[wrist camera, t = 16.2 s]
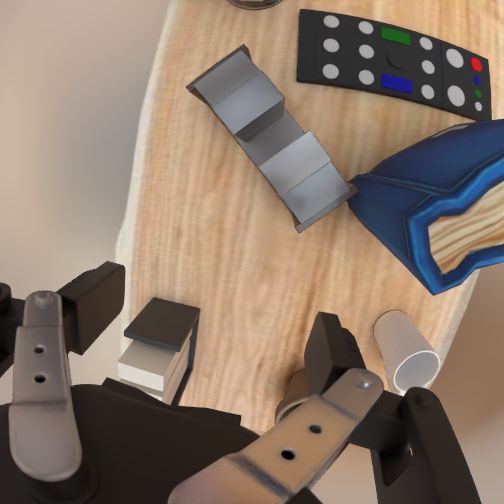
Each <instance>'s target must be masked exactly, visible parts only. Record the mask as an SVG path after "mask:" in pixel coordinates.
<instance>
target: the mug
mask: <svg viewBox="0 0 504 504" xmlns="http://www.w3.org/2000/svg"><path fill="white" fill-rule="evenodd" d="M374 337H375V339H376V342H377V344H378V347H379V349H380V351H381V354H382V356H383V358H384V361H385V363H384V368H385V373H386V378H387V382H388V385H389V388H390V390H391V392H392V393H394V394H398V395H401V396H404V395H405V392H407V390H408V389H409V388H411V387H425V386H427V385H428V384H429V383H430V382H431V381H432V380H433V379H434V378H435V376H436V375H437V373H438V371H439V368H440V358H439V356H438V355H437V354H436V352H435V351H434V349H433V348H432V346H431V345H430V344H429V343H428V341H427V340H426V339H425V337H424V336H423V335H422V333H421V332H420V331H419V330H418V328H417V327H416V326H415V324H414V323H413V322H412V321H411V319H410V318H409V317H408V316H407V315H406V314H405V313H404V312H402V311H398V310H394V311H389V312H387V313H385V314H383V315H382V316H381V317H380V318H379V319H378V320H377V322H376V324H375V326H374Z"/></svg>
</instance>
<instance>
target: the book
mask: <svg viewBox="0 0 504 504" xmlns="http://www.w3.org/2000/svg"><path fill="white" fill-rule="evenodd" d="M348 183H350V184H353V185H355V186H356V187H357V189H358V190H359V192H357V193H356V194H355V195H353V196H352V197H350V198H349V199H348V204H349V207H350V209H351V210H352V211H353V213H354V214H355V215H356V216H357V218H358V219H359V220H360V222H361V223H362V224H363V225H364V226H365V227H366V228H367V229H368V230H369V231H370V232H371V233H372V234H373V235H374V236H375V237H376V238H377V239H378V240H379V241H380V242H381V243H382V244H383V245H385V246H386V247H387V248H388V249H389V250H390V251H391V252H392V253H393V254H394V255H395V256H396V257H397V258H398V259H399V260H400V261H401V262H402V264H403V265H404V266H405V267H406V268H407V269H408V270H409V271H410V272H411V273H412V274H413V275H414V276H415V277H416V278H417V279H418V280H419V281H420V282H421V283H422V284H423V285H424V287H425V288H426V289H427V290H428V291H429V292H430V293H431V294H432V295H433V296H434V295H437V294H439V293H442V292H444V291H447V290H449V289H451V288H454V287H456V286H458V285H461V284H462V283H463V282H464V281H465V280H466V279H467V278H468V276H469V275H470V274H471V273H472V272H473V271H474V270H475V269H478V268H482V267H486V266H489V265H494V264H497V263H501V262H504V119H498V120H489V121H481V122H473V123H465V124H458V125H454V126H452V127H450V128H448V129H445V130H443V131H441V132H439V133H437V134H435V135H433V136H430V137H428V138H426V139H424V140H422V141H420V142H418V143H416V144H414V145H412V146H410V147H408V148H406V149H404V150H403V151H401V152H399V153H397V154H395V155H393V156H391V157H389V158H387V159H385V160H383V161H382V162H381V163H380V164H379V165H378V166H377V167H376V168H375V169H373V170H372V171H371V172H370V173H369V174H362V175H358V176H356V177H355V178H354V179H352V180H351V181H349V182H348Z"/></svg>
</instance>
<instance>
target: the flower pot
mask: <svg viewBox="0 0 504 504" xmlns="http://www.w3.org/2000/svg"><path fill="white" fill-rule="evenodd" d="M307 399H308V389H307V380H306V370H305V369H303V370H301V371H299V372H297V373H296V374H294V376H293V377H292V378H291V380H290V382H289V385H288V388H287V390H286V393H285V396H284V399H283V400H282V401H281V402H280V403H279V405H278V406H277V408H276V412H275V425H276V424H278V423H279V422H280V421H281V420H283V419H284V418H285V417H286V416H288V415H289V414H290V413H291V412H293V411H294V410H295V409H296V408H298V407H299V406H300V405H301V404H302V403H303V402H305V401H306V400H307Z"/></svg>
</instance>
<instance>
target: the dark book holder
mask: <svg viewBox="0 0 504 504" xmlns="http://www.w3.org/2000/svg"><path fill="white" fill-rule="evenodd" d="M199 315H200V309H199V308H195V307H191V306H186V305H182V304H178V303H174V302H170V301H166V300H162V299H159V298H155V297H154V298H153V299H152V300H151V301H150V302H149V303H148V304H147V305H146V306H145V308H144V309H143V310H142V311H141V312H140V313H139V314H138V316H137V317H136V318H135V319H134V320H133V321H132V322H131V324H130V325H129V326H128V327H127V328H126V329H125V331H124V336H125V337H128V338H131V339H134V340H138V341H141V342H144V343H148V344H151V345H154V346H158V347H161V348H165V349H169V350H172V351H176V352H180V351H181V349H182V347H183V345H184V343H185V341H186V339H187V337H188V335H189V333H190V331H191V329H192V334H191V336H190V338H189V340H188V342H187V344H186V346H185V348H184V350H183V352H182V354H181V356H180V358H179V360H178V362H177V364H176V366H175V368H174V371H173V373H172V375H171V377H170V379H169V381H168V383H167V385H166V387H165V389H164V391H163V392H162V391H159V390H155V389H152V388H149V387H146V386H143V385H140V384H137V383H134V382H131V381H128V380H125V379H122V378H121V380H120V381H119V382H122V383H124V384H127V385H130V386H133V387H136V388H138V389H140V390H142V391H144V392H145V393H147V394H149V395H151V396H153V397H154V398H156V399H158V400H160V401H162V402H164V403H166V404H169V405H175V406H178V405H179V402H180V400H181V397H182V395H183V392H184V390H185V387H186V385H187V382H188V380H189V378H190V375H191V373H192V370H193V363H194V354H195V346H196V338H197V330H198V322H199Z"/></svg>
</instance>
